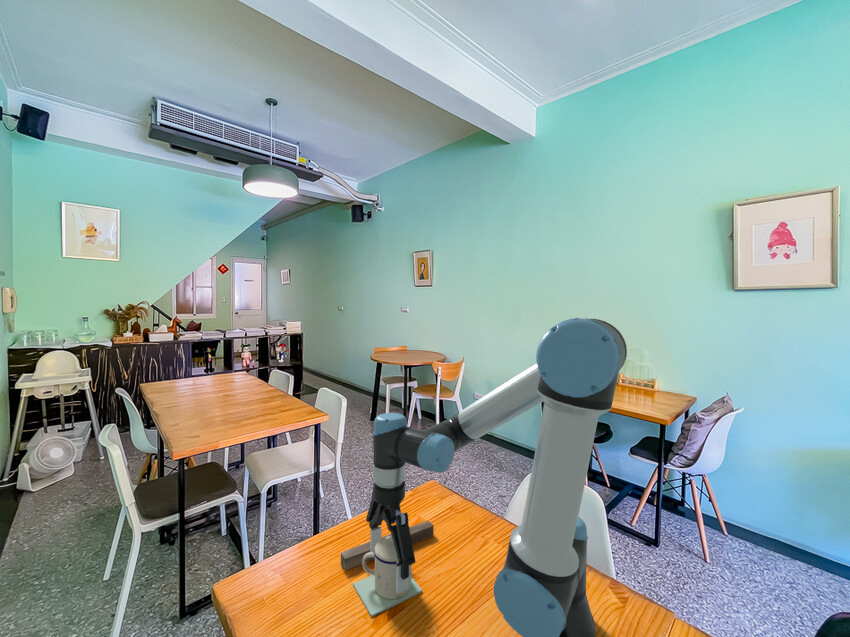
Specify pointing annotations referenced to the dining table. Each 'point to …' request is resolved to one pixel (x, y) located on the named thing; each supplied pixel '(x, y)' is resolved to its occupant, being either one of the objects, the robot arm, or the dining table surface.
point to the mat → (377, 602)
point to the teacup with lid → (385, 568)
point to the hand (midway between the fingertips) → (388, 571)
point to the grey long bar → (356, 554)
